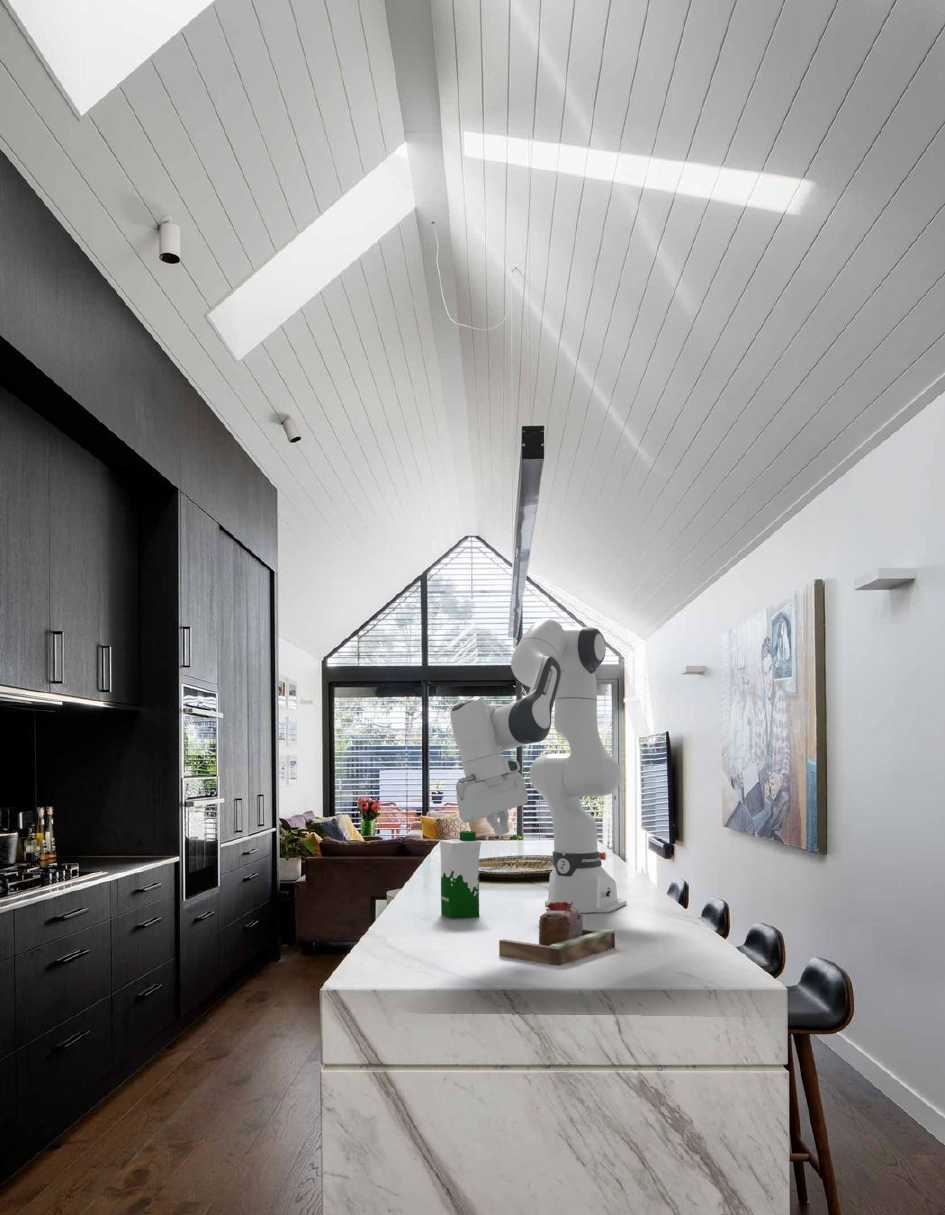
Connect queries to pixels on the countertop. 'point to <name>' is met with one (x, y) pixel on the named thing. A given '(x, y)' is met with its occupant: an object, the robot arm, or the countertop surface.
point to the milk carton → (460, 876)
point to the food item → (559, 924)
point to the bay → (560, 948)
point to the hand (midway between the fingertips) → (502, 834)
